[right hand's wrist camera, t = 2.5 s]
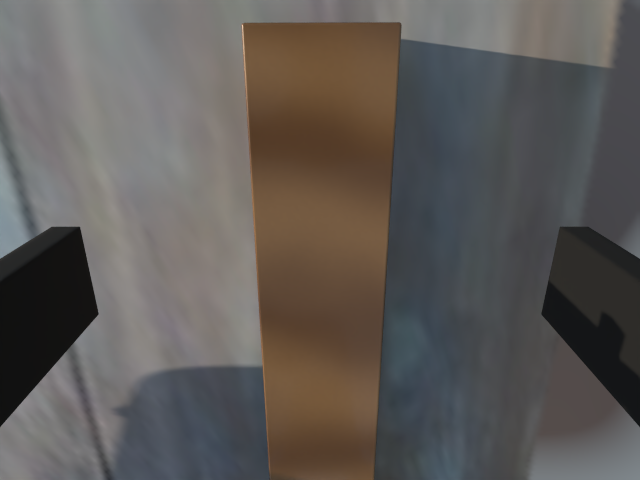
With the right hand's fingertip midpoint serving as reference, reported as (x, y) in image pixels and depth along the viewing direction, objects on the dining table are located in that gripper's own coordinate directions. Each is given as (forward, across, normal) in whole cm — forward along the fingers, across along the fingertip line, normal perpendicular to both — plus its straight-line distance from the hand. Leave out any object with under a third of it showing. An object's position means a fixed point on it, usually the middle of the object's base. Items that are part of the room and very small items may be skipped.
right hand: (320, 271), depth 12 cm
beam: (+14, 0, -17) cm, 21 cm away
